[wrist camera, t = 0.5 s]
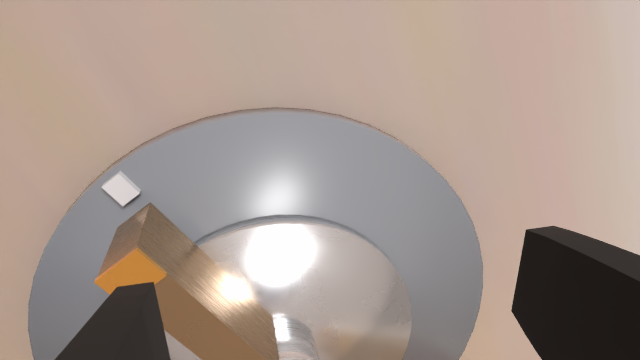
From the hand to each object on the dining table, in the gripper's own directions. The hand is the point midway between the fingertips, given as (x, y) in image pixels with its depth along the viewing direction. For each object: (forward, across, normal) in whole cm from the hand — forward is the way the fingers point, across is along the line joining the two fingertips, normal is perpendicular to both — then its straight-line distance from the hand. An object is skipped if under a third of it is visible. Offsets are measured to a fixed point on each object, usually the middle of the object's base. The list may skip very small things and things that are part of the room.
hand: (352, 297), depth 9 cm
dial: (+9, +2, +8) cm, 12 cm away
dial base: (+10, +1, +9) cm, 14 cm away
